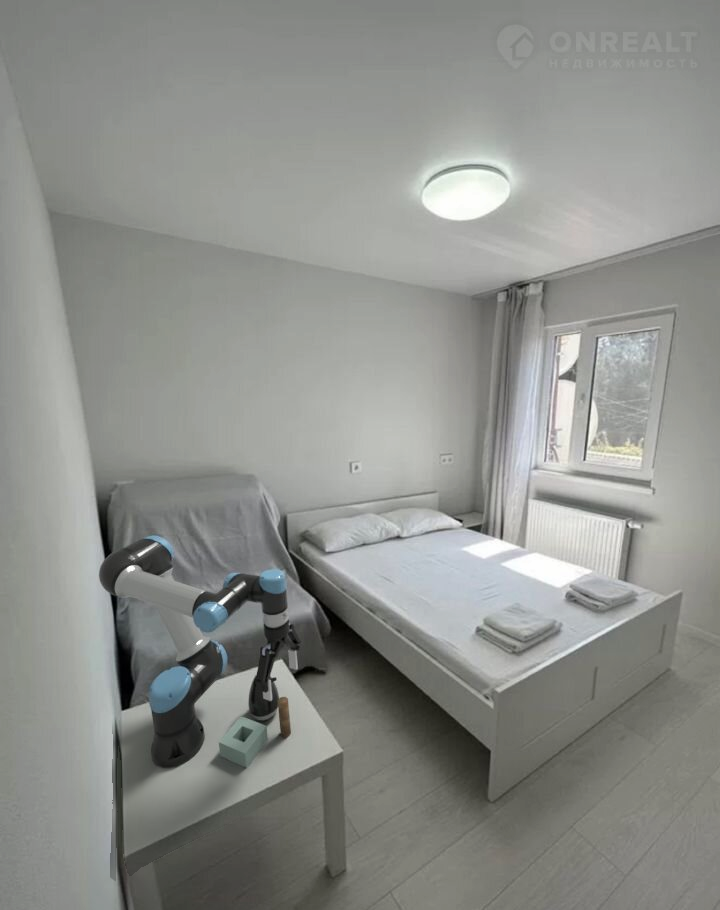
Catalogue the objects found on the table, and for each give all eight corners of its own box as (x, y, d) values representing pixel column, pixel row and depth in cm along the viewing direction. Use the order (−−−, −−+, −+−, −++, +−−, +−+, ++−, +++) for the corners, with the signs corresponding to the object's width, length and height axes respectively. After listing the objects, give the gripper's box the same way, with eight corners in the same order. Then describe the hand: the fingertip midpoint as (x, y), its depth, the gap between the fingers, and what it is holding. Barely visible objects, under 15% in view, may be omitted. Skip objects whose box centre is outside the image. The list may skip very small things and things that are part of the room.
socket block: (220, 756, 120) (218, 742, 119) (242, 729, 129) (241, 716, 128) (246, 768, 116) (245, 753, 115) (267, 739, 125) (266, 725, 124)
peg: (278, 735, 126) (275, 703, 124) (284, 727, 129) (281, 695, 126) (287, 739, 124) (284, 706, 122) (292, 730, 127) (290, 698, 125)
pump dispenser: (273, 728, 129) (269, 687, 126) (244, 723, 131) (239, 683, 128) (285, 703, 138) (282, 664, 136) (258, 699, 141) (254, 661, 138)
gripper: (259, 650, 106) (266, 717, 110) (308, 601, 129) (312, 659, 133) (237, 643, 109) (245, 709, 113) (289, 597, 132) (293, 654, 136)
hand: (281, 682), depth 123 cm, fingers open, 13 cm apart
